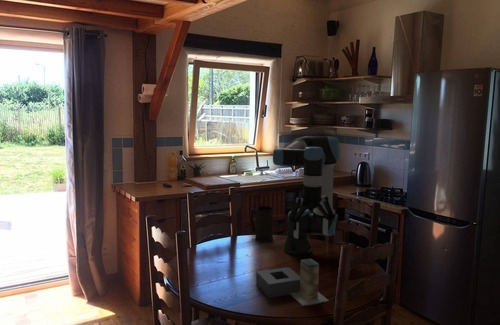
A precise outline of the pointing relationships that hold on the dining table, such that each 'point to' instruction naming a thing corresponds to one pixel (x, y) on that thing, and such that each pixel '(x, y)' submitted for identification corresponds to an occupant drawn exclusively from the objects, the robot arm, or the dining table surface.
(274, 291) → the block
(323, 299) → the coaster
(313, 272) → the teal and tan block
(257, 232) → the beer stein
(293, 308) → the dining table surface
